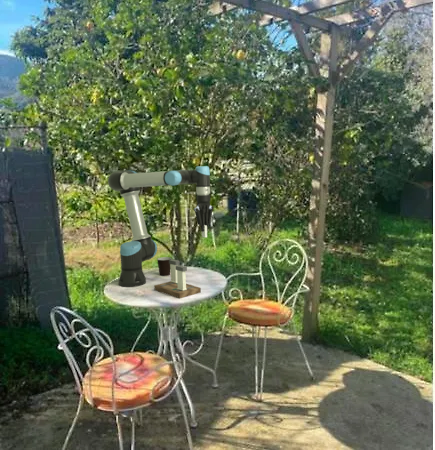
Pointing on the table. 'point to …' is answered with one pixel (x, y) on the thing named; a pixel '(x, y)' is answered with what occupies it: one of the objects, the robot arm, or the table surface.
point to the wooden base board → (172, 289)
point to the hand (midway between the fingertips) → (204, 237)
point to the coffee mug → (164, 266)
